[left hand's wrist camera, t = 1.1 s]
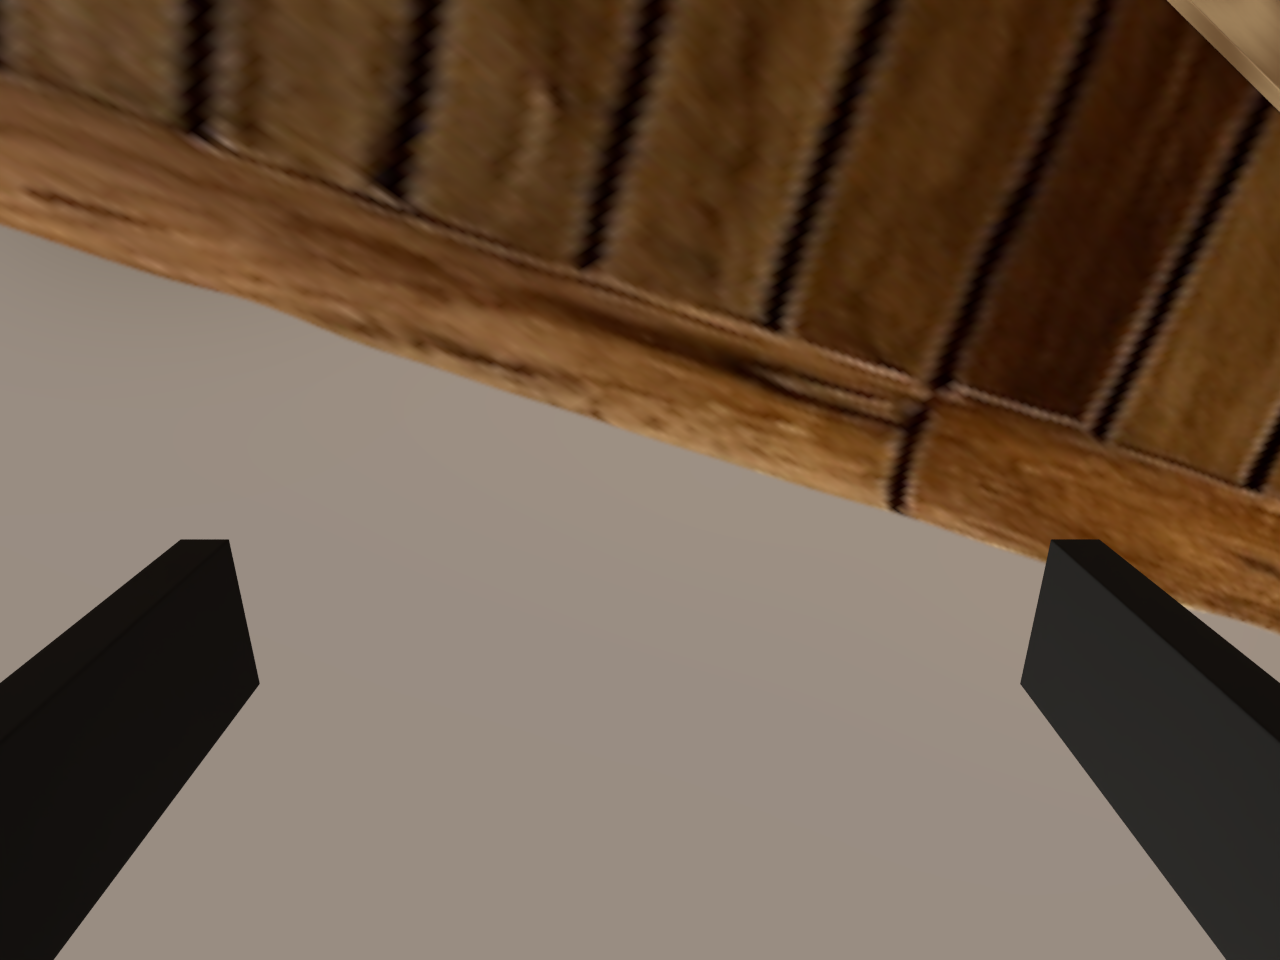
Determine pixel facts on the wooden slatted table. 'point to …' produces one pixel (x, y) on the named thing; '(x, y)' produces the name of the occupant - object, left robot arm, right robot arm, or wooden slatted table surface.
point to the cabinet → (1242, 37)
